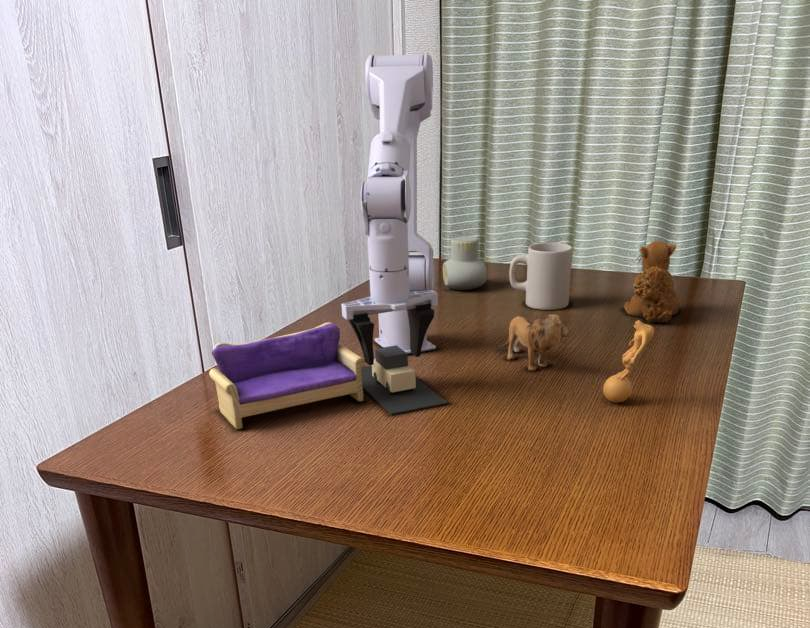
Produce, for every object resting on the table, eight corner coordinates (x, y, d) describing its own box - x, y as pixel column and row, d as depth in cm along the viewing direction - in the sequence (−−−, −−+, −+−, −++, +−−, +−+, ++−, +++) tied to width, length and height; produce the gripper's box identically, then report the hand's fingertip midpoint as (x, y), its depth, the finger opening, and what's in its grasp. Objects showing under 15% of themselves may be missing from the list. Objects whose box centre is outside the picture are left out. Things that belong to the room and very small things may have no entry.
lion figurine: (570, 370, 130) (574, 314, 125) (545, 377, 127) (548, 321, 122) (510, 347, 140) (512, 295, 135) (486, 353, 138) (487, 300, 133)
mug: (569, 299, 165) (573, 242, 159) (567, 310, 158) (572, 252, 152) (510, 297, 167) (512, 242, 161) (506, 309, 160) (508, 251, 154)
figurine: (602, 390, 122) (610, 310, 116) (643, 392, 121) (654, 312, 114) (601, 411, 115) (610, 328, 109) (645, 414, 114) (656, 330, 107)
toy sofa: (232, 432, 113) (221, 361, 107) (214, 411, 119) (203, 343, 114) (368, 402, 121) (364, 334, 115) (344, 384, 127) (339, 319, 122)
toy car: (372, 379, 128) (370, 346, 125) (395, 375, 129) (394, 342, 126) (391, 396, 122) (390, 361, 119) (416, 392, 123) (415, 357, 120)
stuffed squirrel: (675, 306, 158) (686, 236, 151) (684, 328, 146) (695, 253, 139) (623, 306, 159) (630, 236, 152) (627, 327, 148) (635, 252, 141)
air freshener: (441, 282, 179) (441, 234, 174) (478, 279, 180) (479, 232, 175) (449, 294, 170) (449, 245, 165) (488, 292, 171) (489, 243, 166)
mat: (344, 372, 132) (344, 370, 132) (395, 363, 135) (395, 361, 135) (391, 415, 116) (391, 413, 116) (447, 404, 119) (447, 402, 119)
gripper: (350, 280, 111) (357, 375, 118) (446, 266, 115) (446, 359, 122) (334, 269, 116) (341, 360, 123) (426, 256, 121) (427, 345, 128)
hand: (392, 358), depth 123 cm, fingers open, 7 cm apart
